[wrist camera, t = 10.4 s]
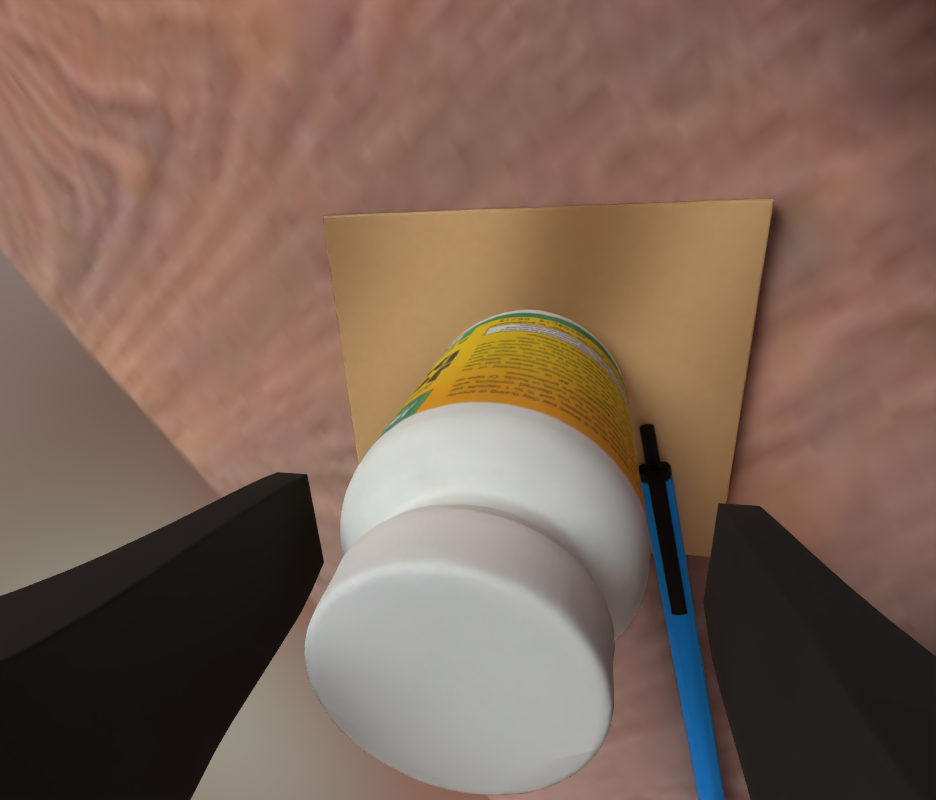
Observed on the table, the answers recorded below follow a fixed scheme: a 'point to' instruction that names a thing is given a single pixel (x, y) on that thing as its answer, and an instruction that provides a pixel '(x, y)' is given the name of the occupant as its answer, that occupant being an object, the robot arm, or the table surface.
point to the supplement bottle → (489, 564)
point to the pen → (679, 614)
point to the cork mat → (568, 312)
